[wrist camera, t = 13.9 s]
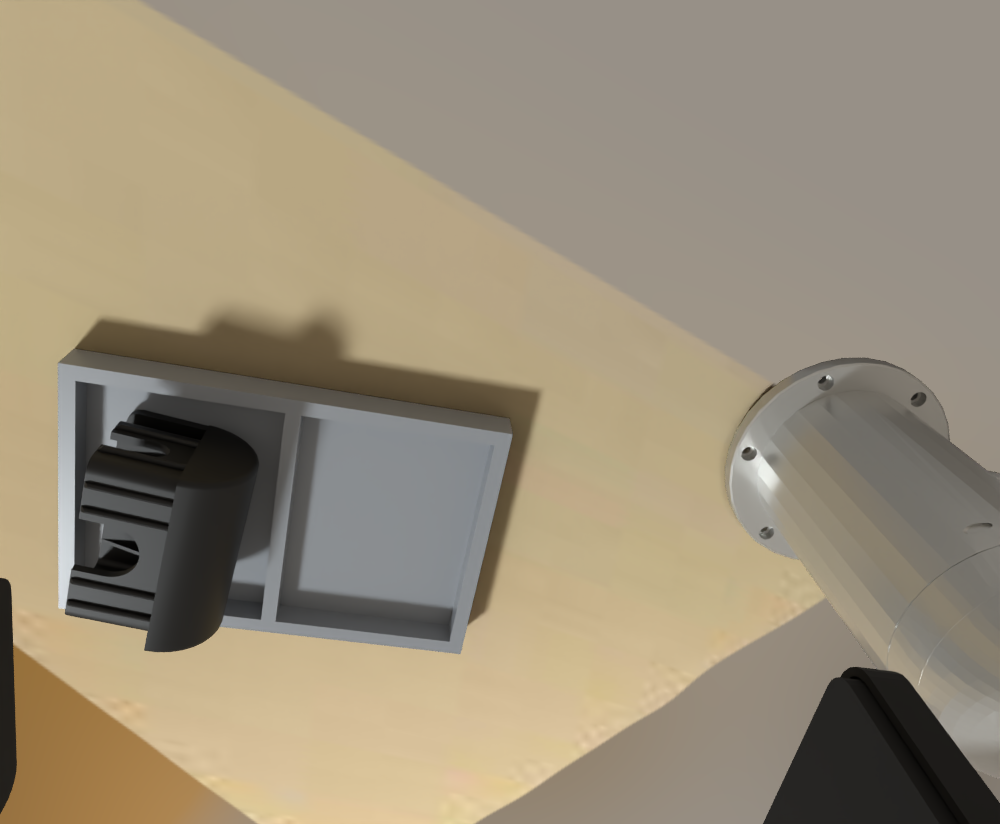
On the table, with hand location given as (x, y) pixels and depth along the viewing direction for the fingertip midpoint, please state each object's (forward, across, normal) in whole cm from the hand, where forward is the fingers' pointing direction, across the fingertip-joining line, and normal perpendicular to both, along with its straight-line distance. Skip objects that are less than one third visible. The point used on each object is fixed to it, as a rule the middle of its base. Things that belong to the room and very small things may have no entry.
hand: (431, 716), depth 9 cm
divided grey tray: (+33, +5, +18) cm, 38 cm away
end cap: (+33, +10, +18) cm, 39 cm away
